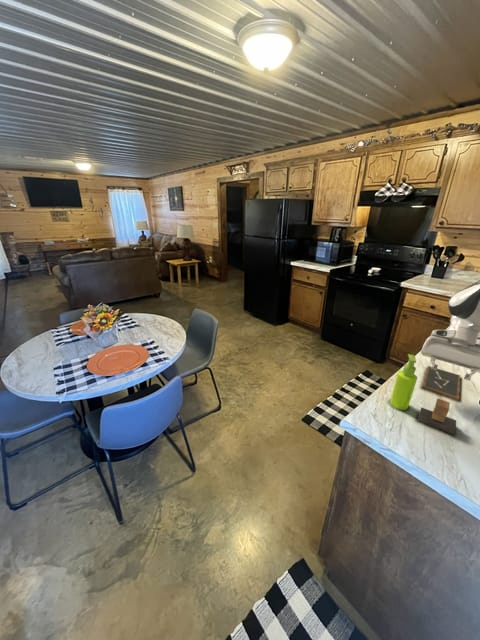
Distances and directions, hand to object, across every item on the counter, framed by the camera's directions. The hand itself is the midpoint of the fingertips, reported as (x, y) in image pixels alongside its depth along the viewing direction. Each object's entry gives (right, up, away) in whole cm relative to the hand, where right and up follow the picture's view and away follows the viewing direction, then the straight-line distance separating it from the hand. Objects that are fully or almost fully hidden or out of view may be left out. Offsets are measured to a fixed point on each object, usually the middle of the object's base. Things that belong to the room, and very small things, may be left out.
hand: (449, 374), depth 92 cm
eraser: (-7, -16, -3) cm, 18 cm away
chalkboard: (+11, -7, +19) cm, 23 cm away
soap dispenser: (-14, -13, +7) cm, 20 cm away
